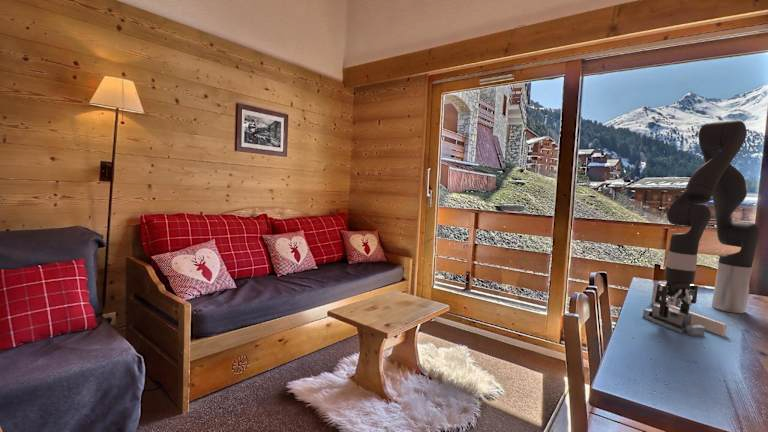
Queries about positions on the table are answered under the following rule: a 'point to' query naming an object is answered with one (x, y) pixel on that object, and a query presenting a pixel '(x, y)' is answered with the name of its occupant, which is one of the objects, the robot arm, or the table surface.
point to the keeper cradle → (690, 329)
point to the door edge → (706, 322)
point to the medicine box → (660, 296)
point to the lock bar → (672, 317)
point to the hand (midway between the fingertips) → (673, 316)
